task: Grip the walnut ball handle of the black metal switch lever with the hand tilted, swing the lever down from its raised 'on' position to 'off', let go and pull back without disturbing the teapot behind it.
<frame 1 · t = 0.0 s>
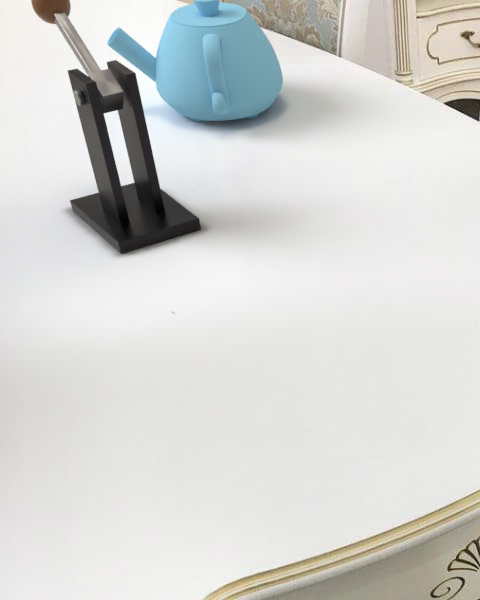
lever: (77, 45, 108), point 16 cm above the table, hinge at 30.0°
teapot: (205, 110, 139), on the table
bracket: (136, 220, 117), on the table
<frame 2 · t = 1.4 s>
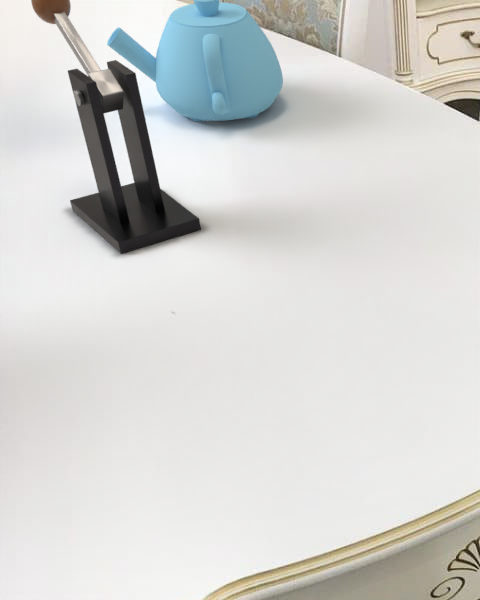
nothing on the table moved.
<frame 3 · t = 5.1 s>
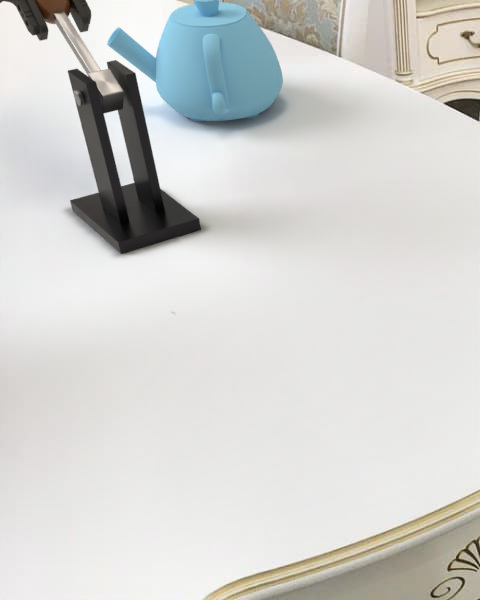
hand: (65, 30, 109), 17 cm above the table, tool tilted 45°, fingers closed on lever, 3 cm apart
lever: (77, 45, 108), point 16 cm above the table, hinge at 30.0°, touching gripper
everything else where it was.
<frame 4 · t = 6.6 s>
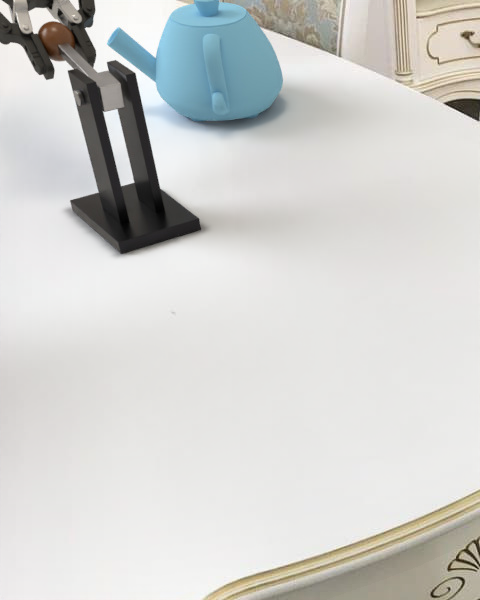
hand: (70, 69, 113), 13 cm above the table, tool tilted 45°, fingers closed on lever, 3 cm apart
lever: (79, 65, 110), point 14 cm above the table, hinge at 8.7°, touching gripper
everything else where it was.
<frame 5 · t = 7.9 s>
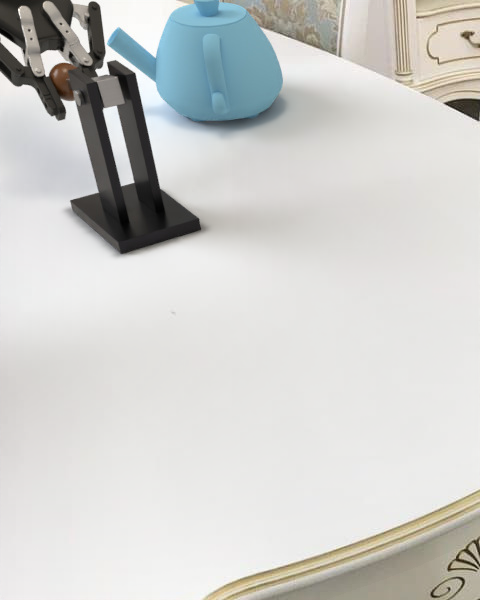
hand: (81, 111, 116), 9 cm above the table, tool tilted 45°, fingers closed on lever, 3 cm apart
lever: (85, 86, 112), point 12 cm above the table, hinge at -11.5°, touching gripper
everything else where it was.
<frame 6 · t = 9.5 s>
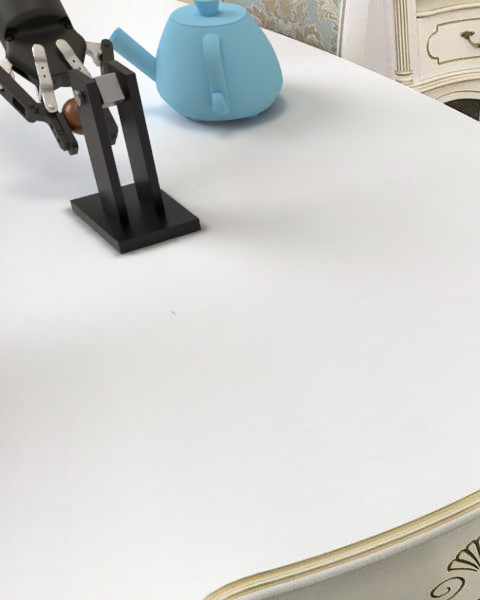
hand: (94, 145, 117), 5 cm above the table, tool tilted 45°, fingers closed on lever, 3 cm apart
lever: (91, 104, 113), point 10 cm above the table, hinge at -28.9°, touching gripper
everything else where it was.
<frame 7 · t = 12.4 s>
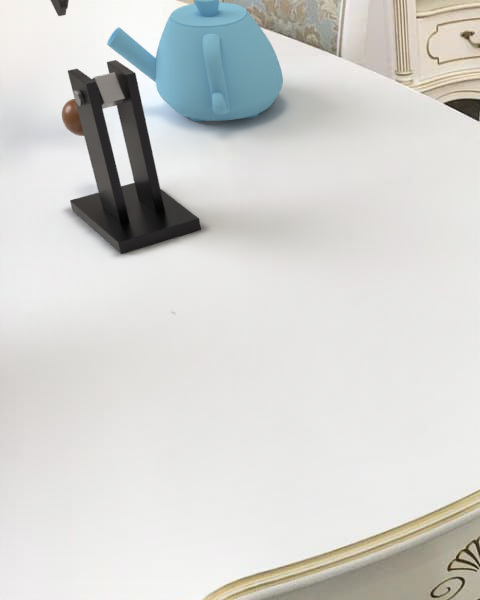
hand: (24, 19, 117), 15 cm above the table, tool tilted 45°, fingers open, 8 cm apart
lever: (92, 105, 113), point 10 cm above the table, hinge at -29.4°
everything else where it was.
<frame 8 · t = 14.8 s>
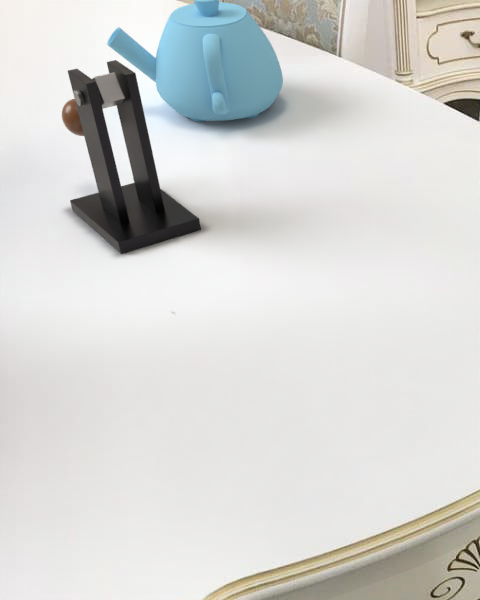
nothing on the table moved.
at the end: lever at -29° (first picture: +30°); teapot moved 0.2 cm from its start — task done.
